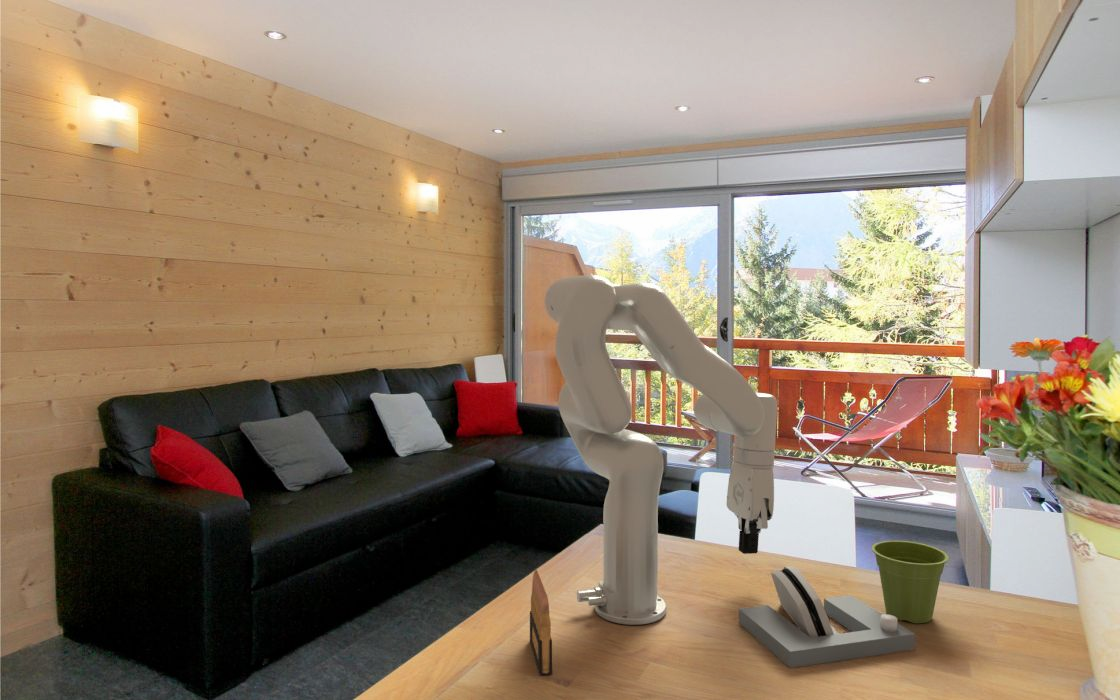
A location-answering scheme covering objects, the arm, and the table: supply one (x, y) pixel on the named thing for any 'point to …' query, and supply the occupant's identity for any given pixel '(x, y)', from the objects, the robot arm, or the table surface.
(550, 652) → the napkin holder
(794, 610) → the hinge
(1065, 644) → the table surface
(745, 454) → the robot arm
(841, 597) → the gray u-shaped block
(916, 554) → the plant pot
